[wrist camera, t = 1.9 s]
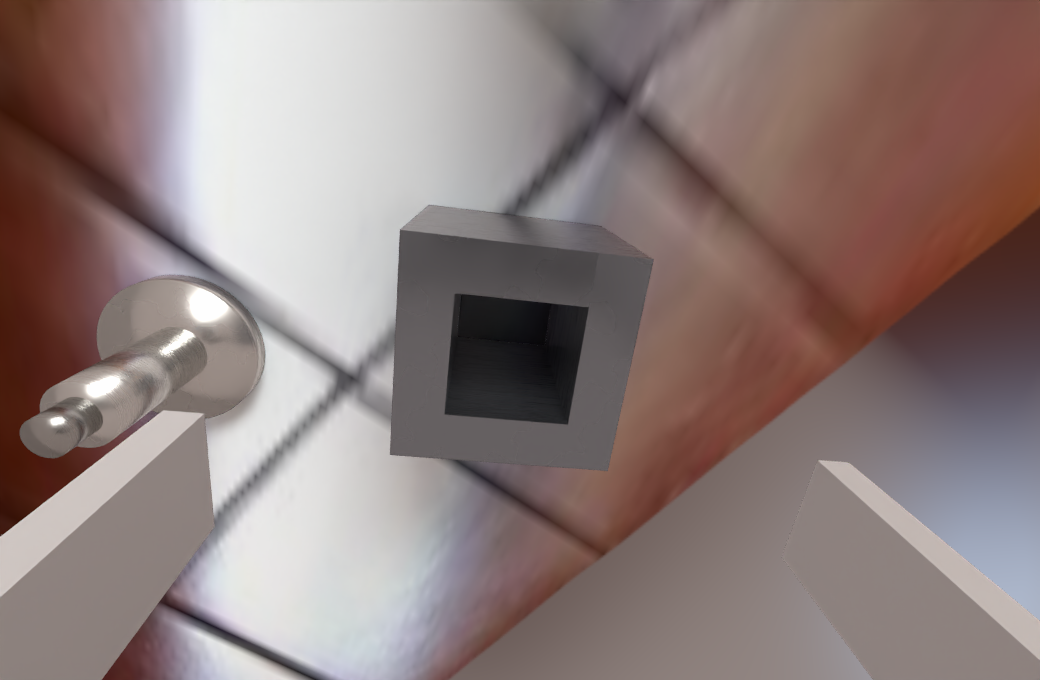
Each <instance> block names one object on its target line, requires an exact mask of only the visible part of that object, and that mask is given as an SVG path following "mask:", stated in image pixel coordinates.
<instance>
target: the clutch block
mask: <svg viewBox="0 0 1040 680" xmlns="http://www.w3.org/2000/svg"><path fill="white" fill-rule="evenodd" d="M653 260H654V259H652V258H651V257H649V256H648V255H646V254H644V253H643V252H641V251H640V250H638V249H637V248H635V247H633V246H632V245H630V244H629V243H627V242H625V241H624V240H622V239H621V238H619V237H618V236H616V235H614V234H613V233H611V232H610V231H608V230H607V229H605V228H603V227H602V226H597V225H589V224H581V223H573V222H564V221H556V220H548V219H540V218H532V217H524V216H516V215H507V214H499V213H491V212H483V211H475V210H467V209H459V208H450V207H442V206H434V205H428V206H427V207H426V208H425V209H424V210H423V211H421V212H420V213H419V214H418V215H417V216H415V217H414V218H413V219H412V220H411V221H410V222H408V223H407V224H406V225H405V226H404V227H403V228H401V229H400V242H399V265H398V287H397V310H396V332H395V355H394V377H393V400H392V422H391V445H390V455H399V456H413V457H426V458H440V459H453V460H467V461H480V462H494V463H508V464H521V465H535V466H548V467H562V468H576V469H589V470H603V471H608V467H609V462H610V458H611V453H612V449H613V444H614V439H615V435H616V430H617V426H618V421H619V416H620V412H621V407H622V403H623V398H624V393H625V389H626V384H627V380H628V375H629V370H630V366H631V361H632V357H633V352H634V347H635V343H636V338H637V334H638V329H639V325H640V320H641V315H642V311H643V306H644V302H645V297H646V292H647V288H648V283H649V279H650V274H651V269H652V265H653ZM461 294H468V295H478V296H487V297H497V298H506V299H515V300H525V301H534V302H544V303H551V306H550V313H549V319H548V326H547V332H546V339H545V345H537V344H527V343H517V342H507V341H496V340H486V339H476V338H466V337H458V326H459V314H460V303H461Z"/></svg>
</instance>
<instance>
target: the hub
mask: <svg viewBox="0 0 1040 680" xmlns="http://www.w3.org/2000/svg"><path fill="white" fill-rule="evenodd" d="M97 346H98V350H99V354H100V357H101V360H102V361H100V362H98V363H96V364H94V365H92V366H90V367H89V368H87V369H85V370H83V371H81V372H79V373H77V374H75V375H74V376H72V377H70V378H68V379H66V380H64V381H62V382H60V383H59V384H57V385H55V386H53V387H51V388H50V389H48V390H47V391H46V392H45V393H44V395H43V396H42V399H41V402H40V414H38V415H36V416H35V417H33V418H31V419H29V420H28V421H26V422H25V423H24V424H23V425H22V426H21V429H20V437H21V440H22V442H23V443H24V445H25V446H26V447H27V448H28V449H29V450H30V451H32V452H33V453H35V454H37V455H39V456H42V457H46V458H57V457H60V456H63V455H64V454H66V453H67V452H69V451H70V450H71V449H73V448H74V447H76V446H79V447H86V448H92V447H99V446H103V445H105V444H107V443H109V442H110V441H112V440H113V439H114V438H116V437H117V436H118V435H120V434H121V433H122V432H124V431H125V430H126V429H127V428H129V427H130V426H131V425H133V424H134V423H135V422H137V421H138V420H139V419H141V418H142V417H143V416H145V415H146V414H147V413H149V412H150V411H151V410H152V411H154V412H157V413H161V412H162V411H163V410H166V411H179V412H192V413H204V415H205V418H210V417H214V416H217V415H220V414H223V413H225V412H227V411H229V410H230V409H232V408H233V407H235V406H236V405H237V404H238V403H239V402H241V401H242V400H243V399H244V398H245V397H246V396H247V395H248V394H249V393H250V392H251V391H252V390H253V388H254V387H255V386H256V384H257V383H258V381H259V379H260V377H261V374H262V371H263V368H264V363H265V348H264V342H263V338H262V335H261V332H260V330H259V328H258V325H257V324H256V322H255V320H254V318H253V317H252V316H251V314H250V313H249V311H248V310H247V309H246V308H245V307H244V306H243V305H242V304H241V303H240V302H239V301H238V300H237V299H236V298H235V297H234V296H232V295H231V294H230V293H228V292H227V291H225V290H224V289H222V288H220V287H218V286H217V285H215V284H213V283H210V282H208V281H205V280H202V279H199V278H195V277H191V276H185V275H163V276H158V277H153V278H150V279H147V280H145V281H142V282H139V283H137V284H134V285H131V286H129V287H127V288H125V289H123V290H121V291H120V292H119V293H117V294H116V295H115V296H114V297H113V298H112V299H111V300H110V301H109V302H108V303H107V305H106V306H105V308H104V309H103V311H102V313H101V316H100V318H99V322H98V326H97Z"/></svg>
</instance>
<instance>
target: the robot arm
mask: <svg viewBox="0 0 1040 680" xmlns="http://www.w3.org/2000/svg"><path fill="white" fill-rule="evenodd" d="M214 527H215V526H214V515H213V504H212V493H211V482H210V471H209V460H208V449H207V437H206V426H205V415H204V413H192V412H179V411H166V410H163V411H162V412H161V413H159V414H158V415H157V416H155V417H154V418H153V419H152V420H150V421H149V422H148V423H146V424H145V425H144V426H143V427H141V428H140V429H139V430H137V431H136V432H135V433H134V434H132V435H131V436H130V437H128V438H127V439H126V440H125V441H123V442H122V443H121V444H119V445H118V446H117V447H115V448H114V449H113V450H112V451H110V452H109V453H108V454H106V455H105V456H104V457H103V458H101V459H100V460H99V461H97V462H96V463H95V464H94V465H92V466H91V467H90V468H88V469H87V470H86V471H85V472H83V473H82V474H81V475H79V476H78V477H77V478H76V479H74V480H73V481H72V482H70V483H69V484H68V485H67V486H65V487H64V488H63V489H61V490H60V491H59V492H58V493H56V494H55V495H54V496H52V497H51V498H50V499H49V500H47V501H46V502H45V503H43V504H42V505H41V506H39V507H38V508H37V509H36V510H34V511H33V512H32V513H30V514H29V515H28V516H27V517H25V518H24V519H23V520H21V521H20V522H19V523H18V524H16V525H15V526H14V527H12V528H11V529H10V530H9V531H7V532H6V533H5V534H3V535H2V536H1V537H0V680H102V678H103V677H104V676H105V674H106V673H107V672H108V670H109V669H110V667H111V666H112V665H113V663H114V662H115V661H116V659H117V658H118V657H119V655H120V654H121V653H122V651H123V650H124V649H125V647H126V646H127V644H128V643H129V642H130V640H131V639H132V638H133V636H134V635H135V634H136V632H137V631H138V630H139V628H140V627H141V626H142V624H143V623H144V621H145V620H146V619H147V617H148V616H149V615H150V613H151V612H152V611H153V609H154V608H155V607H156V605H157V604H158V603H159V601H160V600H161V598H162V597H163V596H164V594H165V593H166V592H167V590H168V589H169V588H170V586H171V585H172V584H173V582H174V581H175V579H176V578H177V577H178V575H179V574H180V573H181V571H182V570H183V569H184V567H185V566H186V565H187V563H188V562H189V561H190V559H191V558H192V556H193V555H194V554H195V552H196V551H197V550H198V548H199V547H200V546H201V544H202V543H203V542H204V540H205V539H206V538H207V536H208V535H209V533H210V532H211V531H212V529H213V528H214ZM782 558H783V560H784V561H785V563H786V564H787V565H788V567H789V568H790V569H791V571H792V572H793V573H794V575H795V576H796V577H797V579H798V580H799V581H800V583H801V584H802V585H803V587H804V588H805V589H806V591H807V592H808V593H809V595H810V596H811V597H812V599H813V600H814V601H815V603H816V604H817V605H818V607H819V608H820V609H821V610H822V612H823V613H824V615H825V616H826V617H827V619H828V620H829V621H830V623H831V624H832V625H833V627H834V628H835V629H836V631H837V632H838V633H839V635H840V636H841V637H842V639H843V640H844V641H845V643H846V644H847V645H848V647H849V648H850V649H851V651H852V652H853V653H854V655H855V656H856V657H857V659H858V660H859V661H860V663H861V664H862V665H863V667H864V668H865V669H866V671H867V672H868V673H869V675H870V676H871V678H872V679H873V680H1040V621H1039V620H1038V619H1037V618H1035V617H1034V616H1033V615H1032V614H1031V613H1030V612H1028V611H1027V610H1026V609H1025V608H1024V607H1022V606H1021V605H1020V604H1019V603H1018V602H1016V601H1015V600H1014V599H1013V598H1011V597H1010V596H1009V595H1008V594H1007V593H1006V592H1004V591H1003V590H1002V589H1001V588H999V587H998V586H997V585H996V584H995V583H993V582H992V581H991V580H990V579H989V578H987V577H986V576H985V575H984V574H982V573H981V572H980V571H979V570H978V569H977V568H975V567H974V566H973V565H972V564H971V563H969V562H968V561H967V560H966V559H965V558H963V557H962V556H961V555H960V554H958V553H957V552H956V551H955V550H954V549H952V548H951V547H950V546H949V545H948V544H946V543H945V542H944V541H943V540H942V539H940V538H939V537H938V536H937V535H936V534H934V533H933V532H932V531H931V530H929V529H928V528H927V527H926V526H925V525H923V524H922V523H921V522H920V521H919V520H917V519H916V518H915V517H914V516H913V515H911V514H910V513H909V512H908V511H907V510H905V509H904V508H903V507H902V506H901V505H899V504H898V503H897V502H896V501H894V500H893V499H892V498H891V497H890V496H888V495H887V494H886V493H885V492H884V491H882V490H881V489H880V488H879V487H877V486H876V485H875V484H874V483H873V482H872V481H870V480H869V479H868V478H867V477H866V476H864V475H863V474H862V473H861V472H859V471H858V470H857V469H856V468H855V467H854V466H852V465H851V464H850V463H849V462H836V461H823V460H817V463H816V466H815V468H814V471H813V473H812V476H811V479H810V482H809V484H808V487H807V490H806V492H805V495H804V498H803V501H802V503H801V506H800V509H799V511H798V514H797V517H796V520H795V522H794V525H793V528H792V530H791V533H790V536H789V538H788V541H787V544H786V547H785V550H784V552H783V555H782Z"/></svg>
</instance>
